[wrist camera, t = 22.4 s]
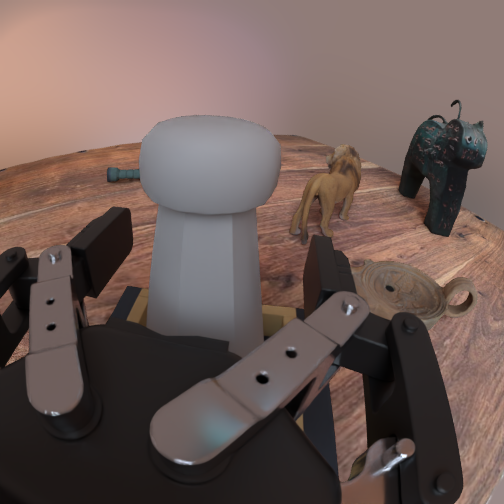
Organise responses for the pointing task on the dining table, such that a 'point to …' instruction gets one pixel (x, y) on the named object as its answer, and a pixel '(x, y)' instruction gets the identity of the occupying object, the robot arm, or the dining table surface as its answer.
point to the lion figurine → (330, 190)
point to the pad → (274, 318)
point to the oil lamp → (410, 292)
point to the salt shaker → (208, 226)
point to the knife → (122, 174)
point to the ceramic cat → (443, 166)
